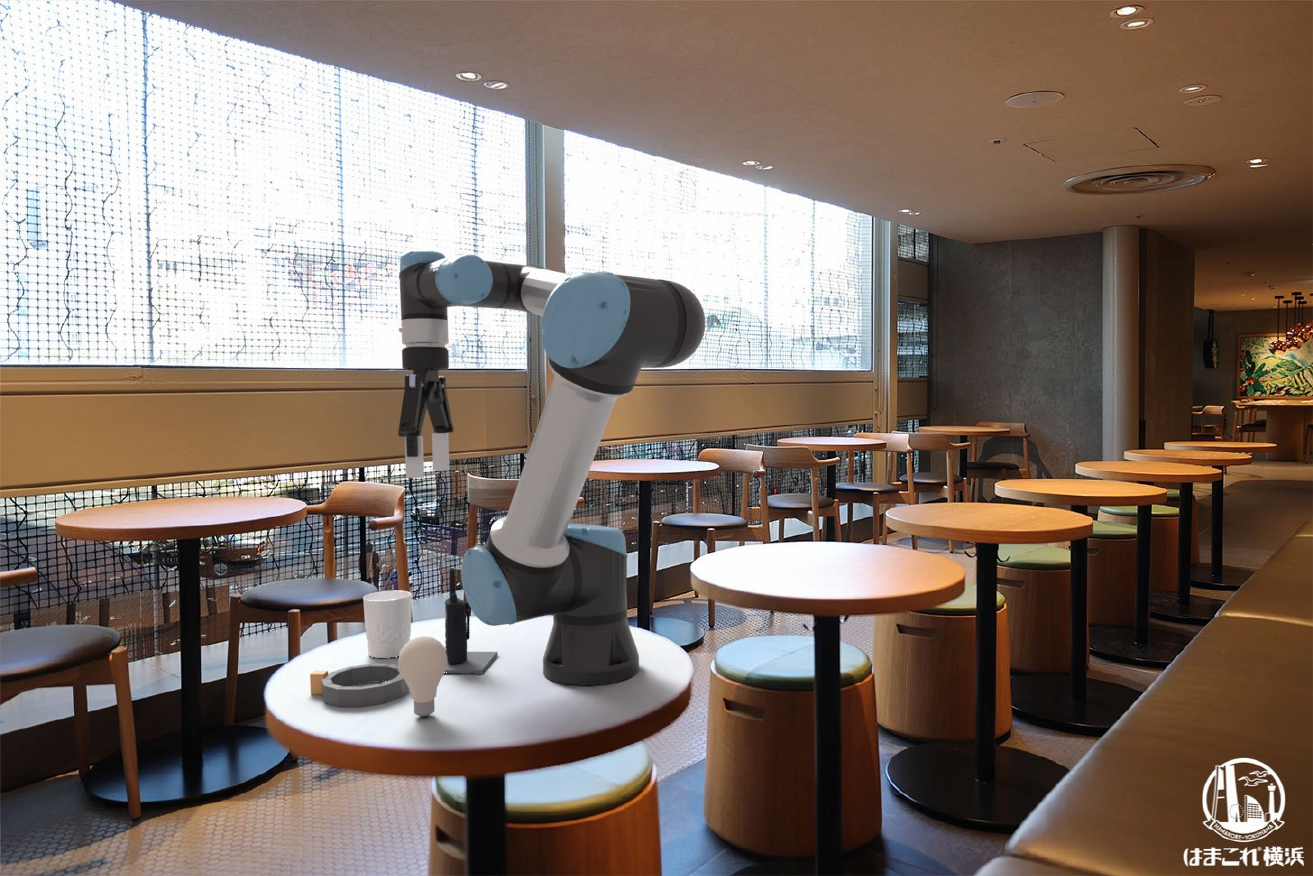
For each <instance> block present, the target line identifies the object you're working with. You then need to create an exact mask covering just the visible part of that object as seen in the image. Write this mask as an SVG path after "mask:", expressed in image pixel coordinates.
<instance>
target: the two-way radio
mask: <svg viewBox="0 0 1313 876" xmlns="http://www.w3.org/2000/svg"><path fill="white" fill-rule="evenodd" d="M448 583H449V596H448V597H449V598H447V599H445V601H444V605H445V609H444V610H445V613H444V614H445V619H444V620H445V621H444V622H445V623H444V624H445V625H444V630H445V633H444V636H445V640H444V644H445V647H444V648H445V650H446V654H447V661H448V663H450V664H460V663H462V662H464V661H466V660H467V652H468V640H470V638H471V637H470V634H471V633H470V615H471V611H472V609H471V608H470V606H469V604H468V602H465V600H463V599H461V598H459V597H458V594H457V589H456V588H457V587H456V573H455V569H454V567H451V568H450V569H449V582H448Z"/></svg>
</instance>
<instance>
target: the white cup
mask: <svg viewBox="0 0 1313 876" xmlns="http://www.w3.org/2000/svg"><path fill="white" fill-rule="evenodd" d="M412 595H413V594H412V592H410V591H408V590H397V589H396V590H382V591H375V592H371V593H368V594H366V595H364V596H362V598H363V600H362V601H363V612H364V628H365V636H366V640H367V654H368V656H369V657H370V656H371V657H370V658H373V657H375V658H374V659H378V658H387V659H391V658H390V657H395V658H397V657H396V656H399V654H400V651H401V650H402V648H403V647H404V645H405V644H406V643H408V642H409V641H410V640H411V634H412V633H411V632H412V627H411V626H412V601H413V600H412V598H413V597H412Z"/></svg>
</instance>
